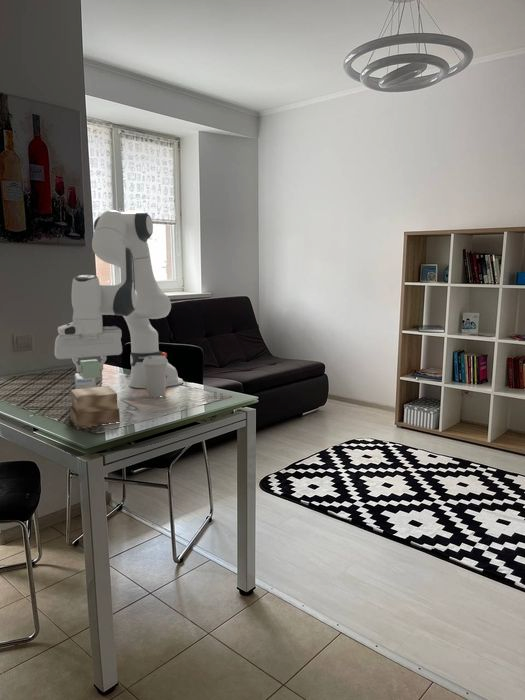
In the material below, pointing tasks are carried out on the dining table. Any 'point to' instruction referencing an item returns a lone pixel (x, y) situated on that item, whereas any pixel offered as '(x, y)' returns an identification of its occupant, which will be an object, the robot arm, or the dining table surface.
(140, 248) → the robot arm
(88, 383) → the light bulb box
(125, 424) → the dining table surface
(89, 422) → the walnut base block
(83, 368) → the sage block
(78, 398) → the oak top block
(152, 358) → the coffee cup
